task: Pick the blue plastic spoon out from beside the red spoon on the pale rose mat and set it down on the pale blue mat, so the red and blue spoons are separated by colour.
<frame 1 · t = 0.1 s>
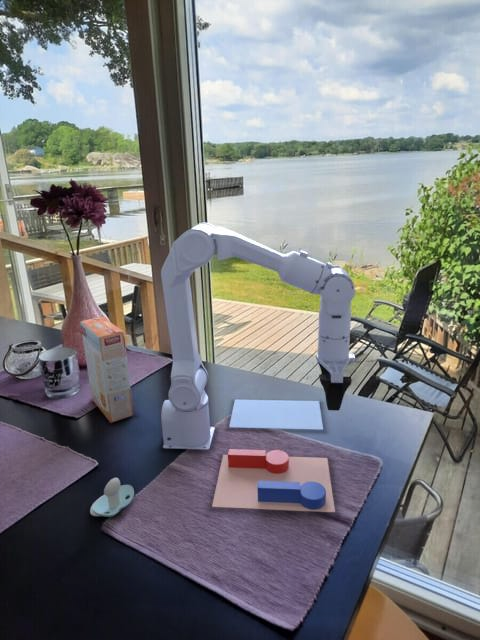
hand: (331, 399, 86), 10 cm above the table, tool pointing down, fingers open, 7 cm apart
rose mat: (273, 483, 78), on the table
blue mat: (276, 415, 99), on the table
pacifier: (111, 508, 74), on the table
red spoon: (258, 465, 82), point 1 cm above the table, touching rose mat
blue spoon: (291, 499, 74), point 1 cm above the table, touching rose mat
cracker box: (112, 408, 105), on the table
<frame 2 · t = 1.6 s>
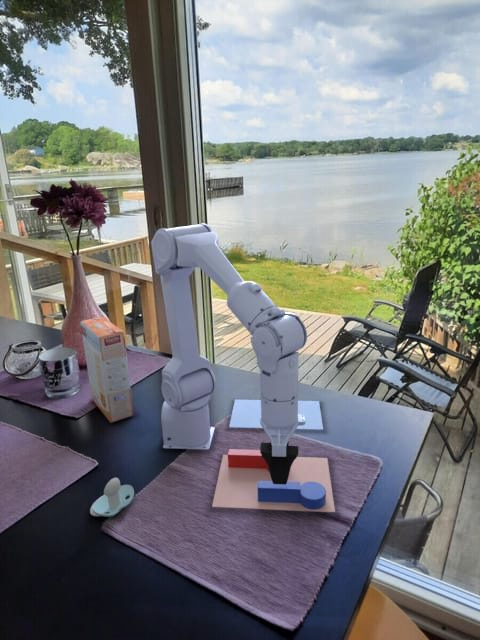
hand: (279, 466, 72), 7 cm above the table, tool pointing down, fingers open, 7 cm apart
nothing on the table moved.
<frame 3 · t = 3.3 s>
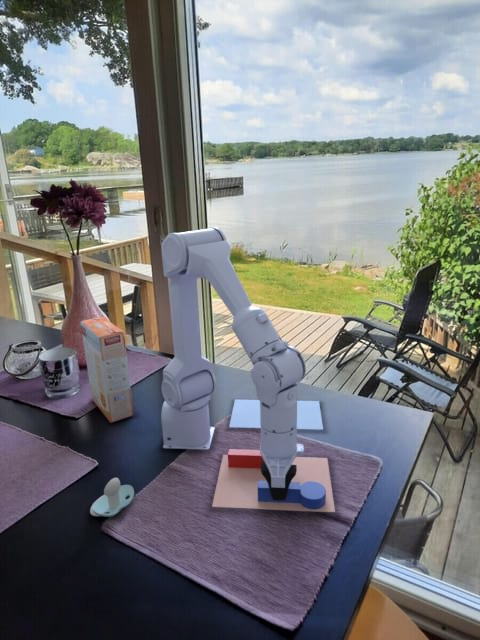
hand: (279, 493, 73), 2 cm above the table, tool pointing down, fingers closed on blue spoon, 2 cm apart
blue spoon: (291, 499, 74), point 1 cm above the table, touching gripper, rose mat
everything else where it was.
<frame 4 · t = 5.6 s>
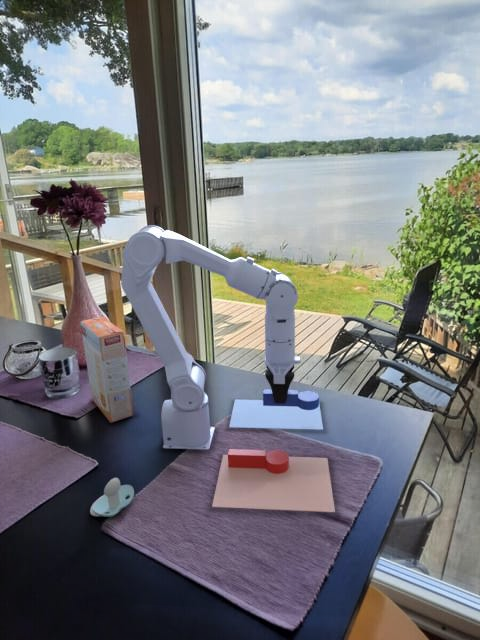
hand: (280, 399, 89), 8 cm above the table, tool pointing down, fingers closed on blue spoon
blue spoon: (290, 404, 89), point 7 cm above the table, touching gripper
everything else where it was.
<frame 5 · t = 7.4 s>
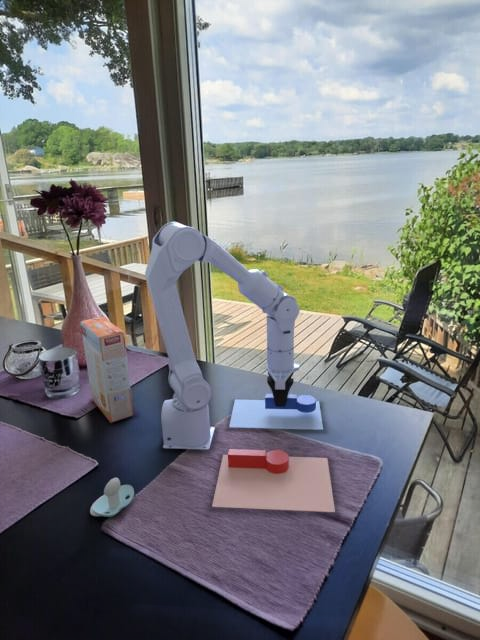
hand: (280, 403, 98), 3 cm above the table, tool pointing down, fingers closed on blue spoon, 2 cm apart
blue spoon: (290, 407, 98), point 2 cm above the table, touching gripper
everything else where it was.
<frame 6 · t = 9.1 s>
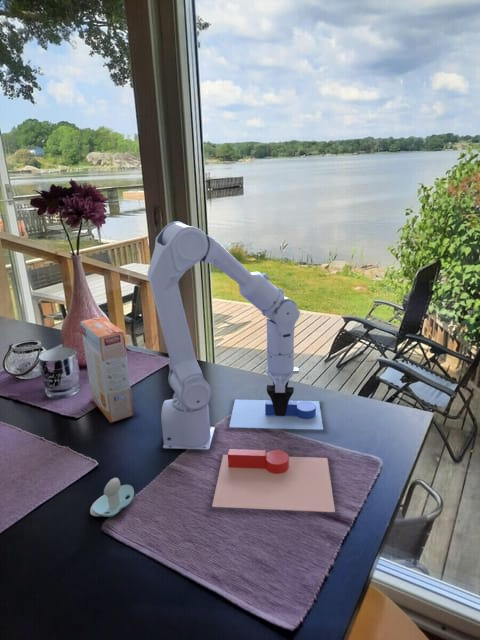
hand: (280, 406, 98), 2 cm above the table, tool pointing down, fingers open, 7 cm apart
blue spoon: (290, 413, 99), point 1 cm above the table, touching blue mat
everything else where it was.
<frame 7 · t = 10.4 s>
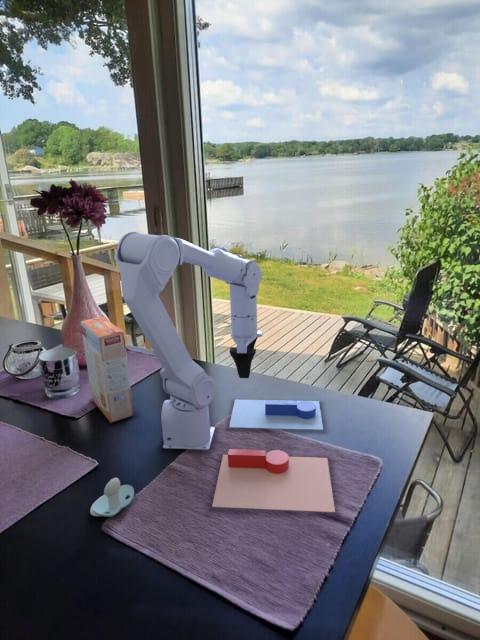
hand: (245, 369, 101), 9 cm above the table, tool pointing down, fingers open, 7 cm apart
nothing on the table moved.
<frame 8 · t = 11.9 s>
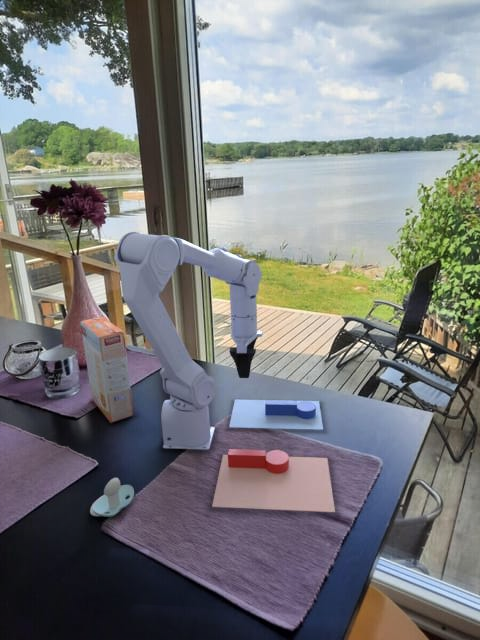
hand: (245, 369, 101), 9 cm above the table, tool pointing down, fingers open, 7 cm apart
nothing on the table moved.
at the end: blue spoon inside the target area on the blue mat (3.1 cm from its centre), point 0.6 cm above the blue mat's base; red spoon inside the target area on the rose mat (5.0 cm from its centre), point 0.6 cm above the rose mat's base; the gripper is holding nothing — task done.
